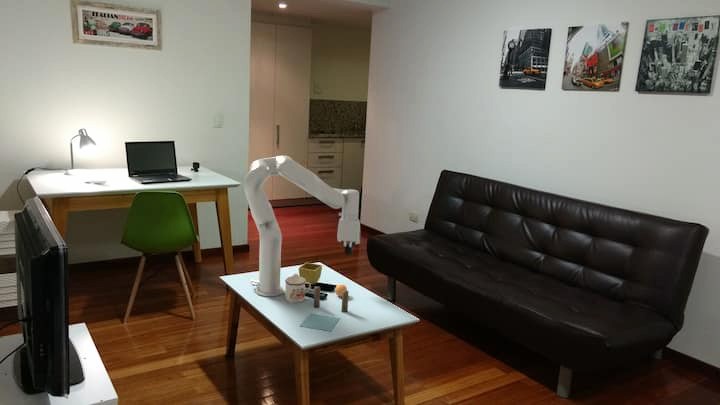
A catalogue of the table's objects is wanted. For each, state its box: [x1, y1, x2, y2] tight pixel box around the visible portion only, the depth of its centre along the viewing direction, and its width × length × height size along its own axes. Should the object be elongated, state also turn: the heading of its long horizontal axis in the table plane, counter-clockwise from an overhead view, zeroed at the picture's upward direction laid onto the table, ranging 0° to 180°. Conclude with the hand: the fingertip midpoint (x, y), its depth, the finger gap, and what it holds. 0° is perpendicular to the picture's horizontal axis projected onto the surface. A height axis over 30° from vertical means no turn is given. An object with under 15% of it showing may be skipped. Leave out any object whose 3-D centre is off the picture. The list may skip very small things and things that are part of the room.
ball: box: [334, 283, 348, 297], centre depth 255 cm, size 6×6×6 cm
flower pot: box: [298, 262, 323, 284], centre depth 267 cm, size 9×9×9 cm
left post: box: [313, 286, 321, 309], centre depth 240 cm, size 3×3×9 cm
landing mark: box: [299, 313, 341, 332], centre depth 227 cm, size 13×13×1 cm
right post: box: [341, 290, 349, 314], centre depth 238 cm, size 3×3×9 cm
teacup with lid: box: [284, 273, 312, 304], centre depth 248 cm, size 12×9×12 cm
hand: (348, 254), depth 260 cm, fingers closed
